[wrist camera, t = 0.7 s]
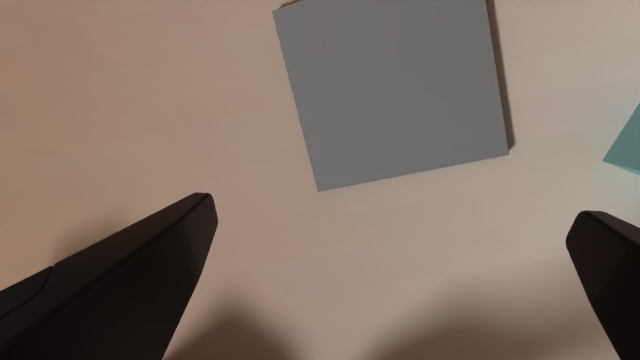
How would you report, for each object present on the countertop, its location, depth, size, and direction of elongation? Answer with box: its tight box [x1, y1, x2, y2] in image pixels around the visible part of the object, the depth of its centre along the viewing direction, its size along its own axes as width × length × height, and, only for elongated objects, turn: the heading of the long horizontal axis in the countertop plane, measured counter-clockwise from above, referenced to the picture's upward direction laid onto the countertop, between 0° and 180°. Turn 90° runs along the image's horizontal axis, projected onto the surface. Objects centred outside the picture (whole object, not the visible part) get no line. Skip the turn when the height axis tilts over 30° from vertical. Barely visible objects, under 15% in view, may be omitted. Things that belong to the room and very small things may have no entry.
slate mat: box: [272, 0, 509, 192], centre depth 20 cm, size 12×12×1 cm
